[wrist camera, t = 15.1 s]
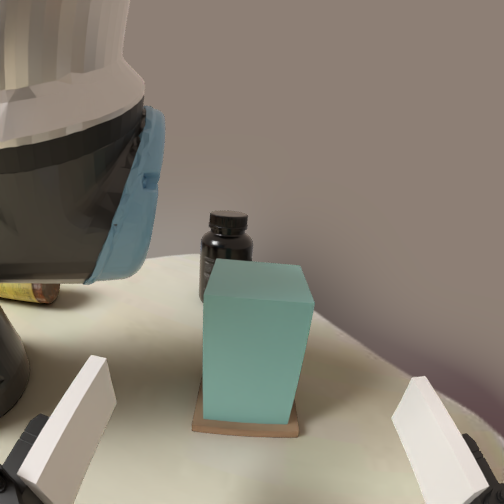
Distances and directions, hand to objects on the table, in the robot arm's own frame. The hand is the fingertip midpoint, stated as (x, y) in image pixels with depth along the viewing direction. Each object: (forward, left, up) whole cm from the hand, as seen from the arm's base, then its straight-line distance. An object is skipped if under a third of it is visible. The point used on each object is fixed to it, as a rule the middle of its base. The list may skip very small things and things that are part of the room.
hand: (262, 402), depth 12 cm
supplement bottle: (+9, +28, -10) cm, 31 cm away
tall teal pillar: (+4, +9, -9) cm, 14 cm away
